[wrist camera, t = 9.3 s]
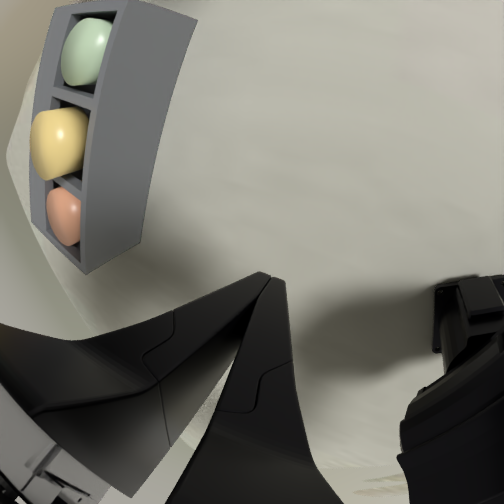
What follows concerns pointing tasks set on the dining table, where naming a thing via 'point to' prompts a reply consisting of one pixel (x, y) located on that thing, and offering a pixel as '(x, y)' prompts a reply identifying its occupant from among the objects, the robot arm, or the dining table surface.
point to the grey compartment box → (111, 121)
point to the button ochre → (58, 141)
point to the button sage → (85, 51)
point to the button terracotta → (64, 215)
